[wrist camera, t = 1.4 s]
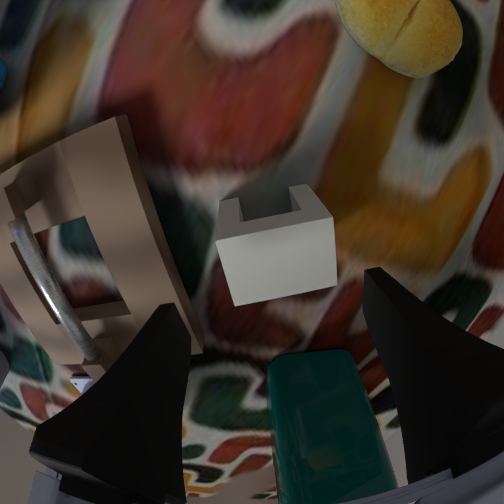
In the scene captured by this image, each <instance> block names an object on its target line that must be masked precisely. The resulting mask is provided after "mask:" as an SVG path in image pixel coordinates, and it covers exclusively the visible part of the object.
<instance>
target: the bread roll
mask: <svg viewBox="0 0 504 504" xmlns="http://www.w3.org/2000/svg"><path fill="white" fill-rule="evenodd" d="M336 6H337V10H338V13H339V16H340V19H341V21H342V23H343V25H344V26H345V28H346V30H347V31H348V33H349V34H350V35H351V36H352V38H353V39H354V40H355V41H356V42H357V43H358V44H359V45H360V46H361V47H362V48H363V49H364V50H365V51H366V52H368V53H369V54H371V55H372V56H374V57H376V58H377V59H379V60H380V61H381V62H382V63H383V64H384V65H386V66H387V67H388V68H390V69H392V70H394V71H396V72H398V73H400V74H403V75H405V76H409V77H412V78H423V77H427V76H428V75H431V74H433V73H434V72H436V71H438V70H440V69H442V68H443V67H444V66H446V65H448V64H449V62H451V61H453V60H454V57H455V55H456V54H457V52H458V51H459V49H460V47H461V45H462V35H463V31H462V24H461V21H460V18H459V16H458V14H457V12H456V9H455V7H454V6H453V4H452V3H451V1H450V0H336Z"/></svg>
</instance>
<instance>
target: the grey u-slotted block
mask: <svg viewBox="0 0 504 504" xmlns="http://www.w3.org/2000/svg"><path fill="white" fill-rule="evenodd" d="M288 188H289V194H290V200H291V207H292V212H289V213H284V214H279V215H274V216H269V217H264V218H259V219H254V220H249V221H245V222H244V219H243V215H242V211H241V206H240V202H239V198H238V197H237V198H232V199H227V200H223V201H220V203H219V212H218V220H217V229H216V238H215V242H216V246H217V249H218V252H219V256H220V259H221V263H222V266H223V269H224V273H225V276H226V279H227V283H228V286H229V289H230V292H231V296H232V299H233V302H234V305H235V306H239V305H244V304H250V303H255V302H260V301H265V300H270V299H275V298H280V297H285V296H290V295H294V294H299V293H304V292H308V291H313V290H318V289H322V288H327V287H331V286H335V285H337V267H336V250H335V235H334V222H333V216H332V215H331V214H330V212H329V211H328V210H327V209H326V207H325V206H324V205H323V203H322V202H321V201H320V200H319V198H318V197H317V196H316V195H315V193H314V192H313V191H312V190H311V188H310V187H309V186H308V185H307V184H302V185H296V186H291V187H288Z"/></svg>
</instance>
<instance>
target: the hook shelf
mask: <svg viewBox="0 0 504 504" xmlns="http://www.w3.org/2000/svg"><path fill="white" fill-rule="evenodd" d="M23 213H25V215H26V217H27V220H28V222H29V225H30V227H31V229H32V231H33V234H34V233H37V232H40V231H42V230H45V229H48V228H50V227H53V226H56V225H59V224H61V223H64V222H67V221H70V220H73V219H76V218H79V217H82V216H85V217H86V219H87V222H88V224H89V227H90V229H91V232H92V234H93V236H94V239H95V241H96V243H97V245H98V248H99V250H100V252H101V254H102V256H103V259H104V261H105V263H106V265H107V267H108V269H109V271H110V273H111V275H112V278H113V280H114V282H115V284H116V286H117V288H118V290H119V291H120V293H121V295H122V297H123V299H124V300H122V301H116V302H110V303H104V304H98V305H92V306H86V307H80V308H74V309H73V310H74V311H75V313H76V314H77V316H78V318H79V319H80V321H81V322H82V324H83V326H84V327H85V329H86V330H87V332H88V333H89V335H90V336H91V338H92V339H93V341H94V342H95V343H96V345H97V346H98V348H99V349H100V351H101V353H102V354H101V357H100V358H99V359H98V360H97V361H95V362H92V363H91V362H88V361H87V359H86V358H85V357H84V355H83V354H82V353H81V351H80V350H79V349H78V347H77V346H76V344H75V343H74V342H73V340H72V339H71V337H70V336H69V334H68V333H67V332H66V330H65V329H64V327H63V326H62V324H61V323H60V321H59V320H58V318H57V316H56V315H55V313H54V312H53V310H52V309H51V307H50V305H49V304H48V302H47V300H46V299H45V297H44V295H43V294H42V292H41V290H40V289H39V287H38V285H37V283H36V281H35V280H34V278H33V276H32V274H31V272H30V270H29V268H28V267H27V265H26V263H25V261H24V259H23V257H22V255H21V253H20V251H19V249H18V246H17V244H16V242H15V240H14V238H13V236H12V233H11V231H10V229H9V227H8V224H7V223H8V222H10V221H12V220H14V219H16V218H17V217H19V216H20V215H21V214H23ZM0 283H1V285H2V287H3V288H4V290H5V292H6V293H7V295H8V297H9V298H10V300H11V302H12V303H13V305H14V307H15V308H16V310H17V311H18V313H19V314H20V316H21V317H22V319H23V320H24V322H25V323H26V325H27V326H28V328H29V329H30V331H31V332H32V333H33V335H34V336H35V338H36V339H37V340H38V342H39V343H40V344H41V346H42V347H43V348H44V350H45V351H46V352H47V354H48V355H49V356H50V357H51V359H52V360H53V361H54V362H55V364H82V365H81V366H82V367H83V369H84V370H85V371H86V372H87V374H88V375H89V376H90V377H91V378H92V380H93V381H98V380H99V379H100V378H101V377H102V376H103V375H104V374H105V373H106V372H107V370H108V369H109V368H110V367H111V366H112V365H113V364H114V363H115V361H116V360H117V359H118V358H119V357H120V355H121V354H122V353H123V352H124V350H125V349H126V348H127V347H128V346H129V344H130V343H131V342H132V340H133V339H134V338H135V336H136V335H137V334H138V332H139V331H140V330H141V328H142V327H143V326H144V324H145V323H146V322H147V320H148V319H149V318H150V316H151V315H152V314H153V312H154V311H155V310H156V309H157V307H158V306H159V305H160V304H165V303H173V302H174V303H175V305H176V307H177V309H178V311H179V313H180V315H181V317H182V319H183V321H184V323H185V325H186V327H187V329H188V331H189V333H190V335H191V337H192V341H191V355H194V354H202V353H203V348H204V334H203V331H202V329H201V327H200V324H199V322H198V320H197V317H196V315H195V312H194V310H193V308H192V305H191V303H190V300H189V298H188V295H187V293H186V290H185V288H184V285H183V283H182V280H181V278H180V275H179V273H178V270H177V267H176V265H175V262H174V259H173V257H172V254H171V251H170V249H169V246H168V243H167V240H166V238H165V235H164V232H163V229H162V226H161V224H160V221H159V218H158V215H157V212H156V209H155V206H154V203H153V200H152V197H151V194H150V191H149V188H148V185H147V182H146V178H145V175H144V172H143V169H142V165H141V162H140V159H139V155H138V152H137V149H136V145H135V142H134V138H133V135H132V131H131V127H130V124H129V120H128V116H127V114H125V115H120V116H115V117H113V118H110V119H108V120H105V121H103V122H100V123H98V124H95V125H93V126H91V127H88V128H86V129H84V130H82V131H80V132H77V133H75V134H73V135H71V136H69V137H67V138H65V139H63V140H61V141H58V142H56V143H55V144H53V145H51V146H49V147H47V148H45V149H43V150H41V151H39V152H37V153H36V154H34V155H32V156H30V157H28V158H27V159H25V160H23V161H21V162H20V163H18V164H16V165H15V166H13V167H11V168H10V169H8V170H6V171H5V172H3V173H2V174H0Z"/></svg>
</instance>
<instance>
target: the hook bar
mask: <svg viewBox="0 0 504 504" xmlns="http://www.w3.org/2000/svg"><path fill="white" fill-rule="evenodd" d="M7 224H8V227H9V229H10V231H11V233H12V236H13V238H14V240H15V242H16V244H17V246H18V249H19V251H20V253H21V255H22V257H23V259H24V261H25V263H26V265H27V267H28V268H29V270H30V272H31V274H32V276H33V278H34V280H35V281H36V283H37V285H38V287H39V289H40V290H41V292H42V294H43V295H44V297H45V299H46V300H47V302H48V304H49V305H50V307H51V309H52V310H53V312H54V313H55V315H56V316H57V318H58V320H59V321H60V323H61V324H62V326H63V327H64V329H65V330H66V332H67V333H68V334H69V336H70V337H71V339H72V340H73V342H74V343H75V344H76V346H77V347H78V349H79V350H80V351H81V353H82V354H83V355H84V357H85V358H86V359H87V361H88V362H91V363H92V362H95V361H97V360H98V359H99V358H100V357H101V354H102V353H101V351H100V349H99V348H98V346H97V345H96V343H95V342H94V341H93V339H92V338H91V336H90V335H89V333H88V332H87V330H86V329H85V327H84V326H83V324H82V322H81V321H80V319H79V318H78V316H77V314H76V313H75V311H74V310H73V308H72V306H71V305H70V303H69V301H68V300H67V298H66V296H65V294H64V293H63V291H62V289H61V287H60V286H59V284H58V282H57V280H56V278H55V276H54V275H53V273H52V271H51V269H50V267H49V265H48V263H47V261H46V259H45V257H44V255H43V253H42V251H41V249H40V247H39V245H38V242H37V240H36V238H35V236H34V234H33V231H32V229H31V227H30V225H29V222H28V220H27V217H26V215H25V213H23V214H21V215H20V216H19V217H17V218H16V219H14V220H12V221H10V222H8V223H7Z"/></svg>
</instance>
